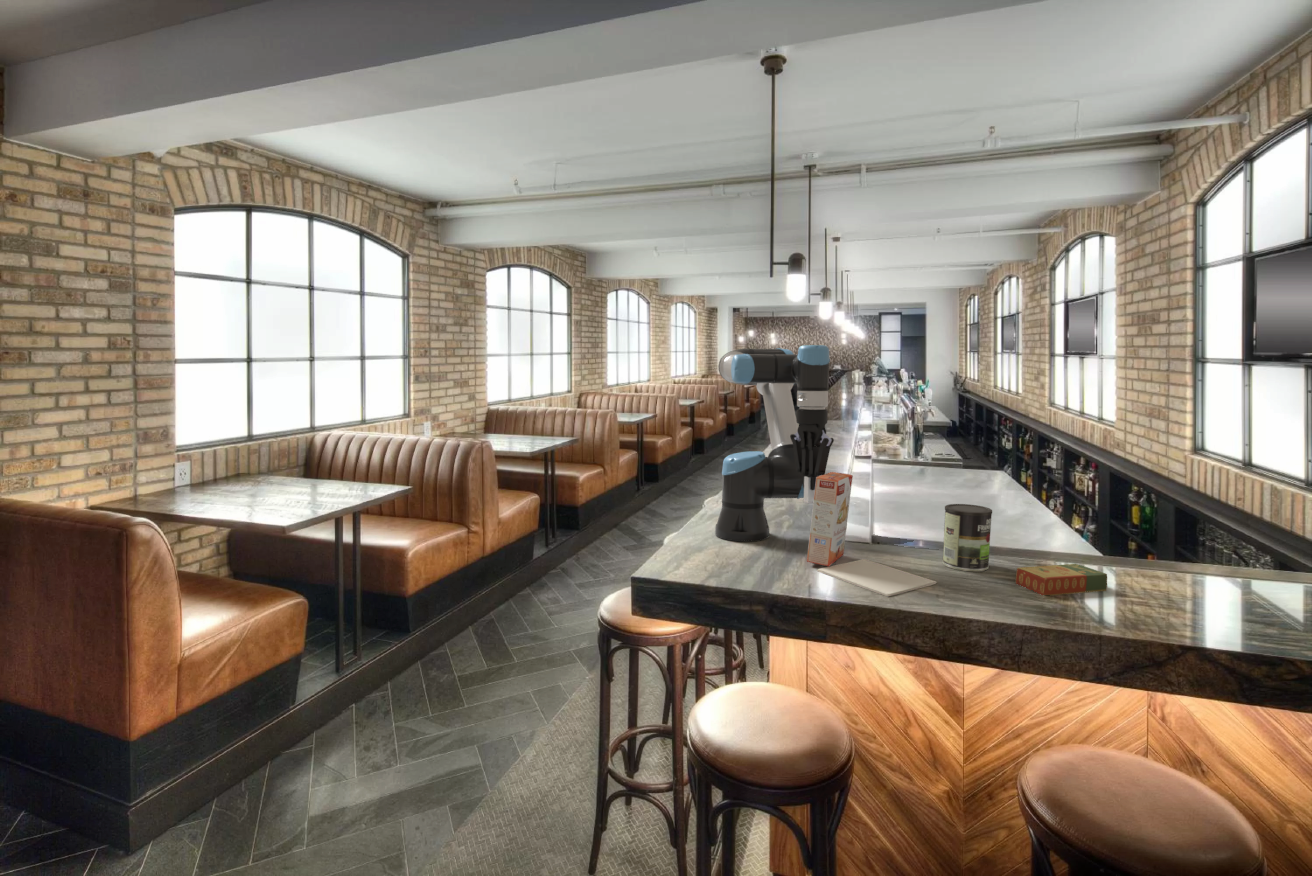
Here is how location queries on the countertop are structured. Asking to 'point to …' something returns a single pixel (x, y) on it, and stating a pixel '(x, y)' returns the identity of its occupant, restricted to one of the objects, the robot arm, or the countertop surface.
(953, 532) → the coffee can
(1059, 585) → the carton
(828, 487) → the cracker box
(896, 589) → the mat
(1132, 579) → the countertop surface
